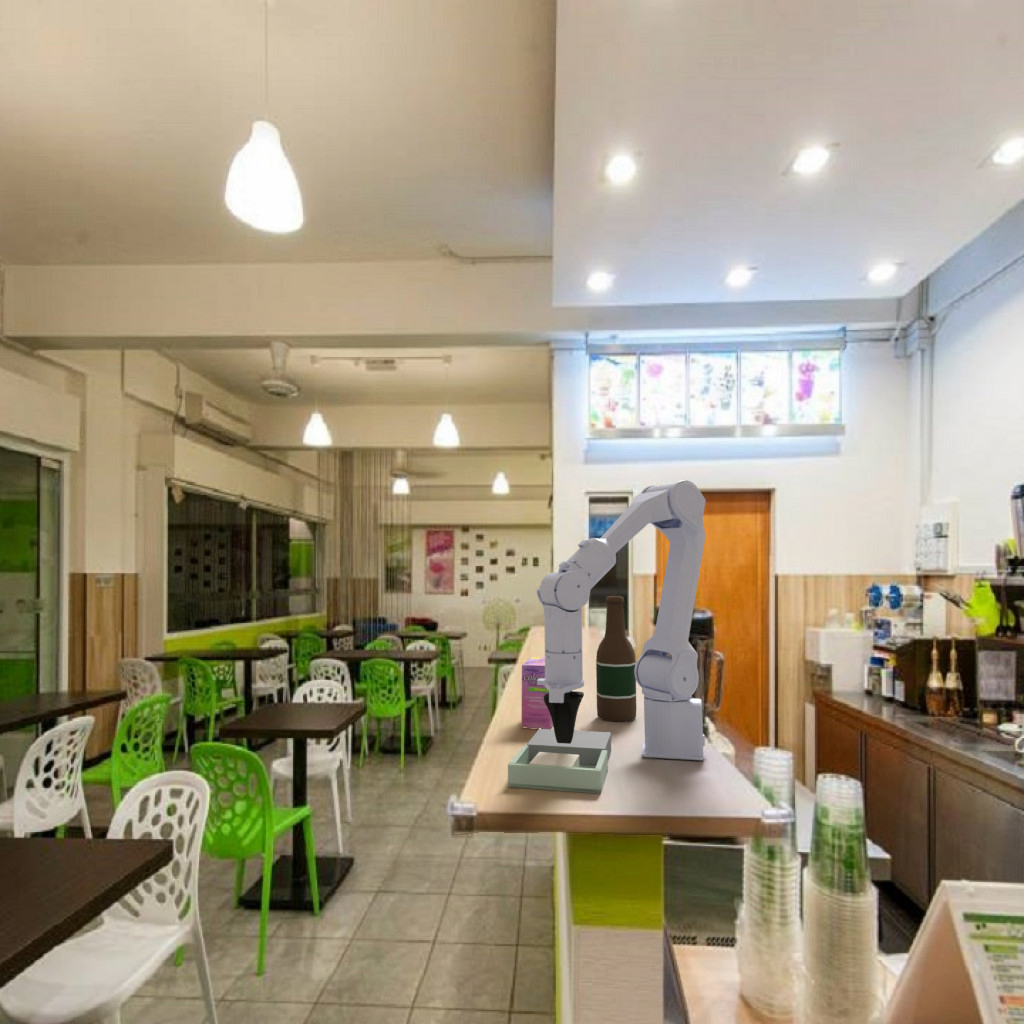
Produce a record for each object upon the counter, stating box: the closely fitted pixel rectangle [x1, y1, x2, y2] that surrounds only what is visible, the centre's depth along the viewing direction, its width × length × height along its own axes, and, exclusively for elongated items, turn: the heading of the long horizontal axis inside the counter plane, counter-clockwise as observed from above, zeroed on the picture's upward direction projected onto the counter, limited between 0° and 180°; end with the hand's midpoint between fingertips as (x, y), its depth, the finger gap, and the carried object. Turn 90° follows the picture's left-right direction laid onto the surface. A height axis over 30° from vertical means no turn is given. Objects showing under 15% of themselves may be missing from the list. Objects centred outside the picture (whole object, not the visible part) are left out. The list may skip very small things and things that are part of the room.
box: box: [520, 656, 553, 729], centre depth 132 cm, size 10×6×12 cm, turn 168°
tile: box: [529, 752, 580, 768], centre depth 97 cm, size 6×6×2 cm
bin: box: [507, 744, 609, 795], centre depth 98 cm, size 13×11×3 cm
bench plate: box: [526, 728, 612, 766], centre depth 109 cm, size 12×10×3 cm
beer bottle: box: [595, 595, 637, 723], centre depth 136 cm, size 8×8×24 cm
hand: (564, 742), depth 103 cm, fingers closed
